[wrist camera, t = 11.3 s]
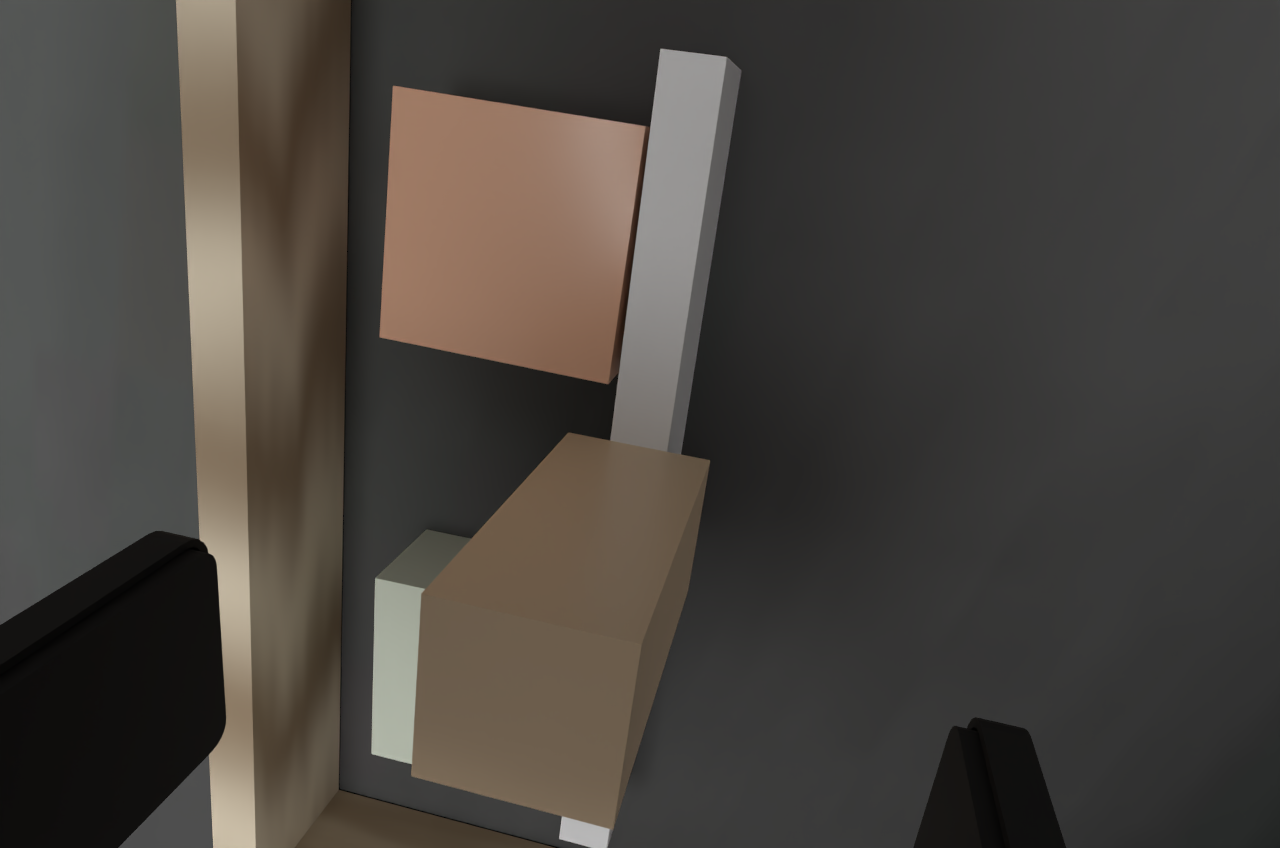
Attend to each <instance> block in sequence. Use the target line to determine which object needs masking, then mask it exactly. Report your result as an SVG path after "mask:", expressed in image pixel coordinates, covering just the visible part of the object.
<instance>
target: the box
mask: <svg viewBox="0 0 1280 848" xmlns="http://www.w3.org/2000/svg"><path fill="white" fill-rule="evenodd" d="M176 9H177V32H178V55H179V78H180V100H181V123H182V146H183V169H184V191H185V214H186V237H187V260H188V283H189V305H190V328H191V351H192V374H193V396H194V419H195V442H196V465H197V487H198V510H199V533H200V540H201V541H202V542H204V543H205V545H206V547H207V548H208V553H209V554H211V555H213V556H214V558H215V560H216V564H217V575H218V591H219V607H220V623H221V639H222V656H223V672H224V688H225V704H226V726H225V730H224V733H223V735H222V738H221V739H220V741H219V743H218V745H217V746H216V747H215V748H214V750H213V751H212V752H211V753H210V754H209V761H210V783H211V806H212V829H213V848H554V847H551V846H547V845H543V844H540V843H536V842H532V841H528V840H525V839H521V838H517V837H513V836H510V835H506V834H502V833H498V832H495V831H491V830H487V829H483V828H480V827H476V826H472V825H468V824H465V823H461V822H457V821H453V820H450V819H446V818H442V817H439V816H435V815H431V814H427V813H424V812H420V811H416V810H412V809H409V808H405V807H401V806H397V805H394V804H390V803H386V802H382V801H379V800H375V799H371V798H367V797H364V796H360V795H356V794H353V793H349V792H345V791H341V790H339V742H340V677H341V613H342V548H343V484H344V419H345V355H346V290H347V226H348V161H349V97H350V32H351V0H176Z"/></svg>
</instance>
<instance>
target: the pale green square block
mask: <svg viewBox="0 0 1280 848" xmlns="http://www.w3.org/2000/svg"><path fill="white" fill-rule="evenodd" d="M470 540H471V538H466V537H461V536H456V535H451V534H447V533H442V532H437V531H432V530H427V529H426V530H425V531H424V532H423V533H422V534H421V535H420V536H419V537H418V538H417V539H416V540H415V541H414V542H413V543H412V544H411V545H410V546H408V547H407V548H406V549H405V550H404V551H403V552H402V553H401V554H400V555H399V556H398V557H397V558H396V559H395V560H394V561H393V562H392V563H391V564H389V565H388V566H387V567H386V568H385V569H384V570H383V571H382V572H381V573H380V574H379V575H378V576H377V577H376V578H375V609H374V658H373V707H372V754H374V755H377V756H381V757H385V758H389V759H393V760H397V761H401V762H405V763H409V764H412V752H413V734H414V716H415V698H416V680H417V663H418V645H419V627H420V609H421V593H422V592H423V591H424V590H425V589H426V588H427V587H428V586H429V585H430V584H431V582H432V581H433V580H434V579H435V578H436V577H437V576H438V575H439V574H440V573H441V572H442V570H443V569H444V568H445V567H446V566H447V565H448V564H449V563H450V562H451V561H452V559H453V558H454V557H455V556H456V555H457V554H458V553H459V552H460V551H461V550H462V548H463V547H464V546H465V545H466V544H467V543H468V542H469V541H470Z"/></svg>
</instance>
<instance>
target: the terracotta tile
mask: <svg viewBox="0 0 1280 848" xmlns="http://www.w3.org/2000/svg"><path fill="white" fill-rule="evenodd" d="M649 134H650V126H644V125H638V124H632V123H625V122H619V121H613V120H607V119H601V118H594V117H588V116H582V115H576V114H569V113H563V112H557V111H551V110H544V109H538V108H532V107H526V106H520V105H513V104H507V103H501V102H495V101H488V100H482V99H476V98H470V97H464V96H457V95H451V94H445V93H438V92H431V91H425V90H418V89H411V88H405V87H398V86H393V96H392V114H391V133H390V152H389V170H388V189H387V208H386V226H385V245H384V264H383V282H382V301H381V320H380V338H385V339H390V340H395V341H400V342H405V343H410V344H415V345H419V346H424V347H429V348H434V349H439V350H444V351H449V352H453V353H458V354H463V355H468V356H473V357H478V358H483V359H488V360H492V361H497V362H502V363H507V364H512V365H517V366H522V367H527V368H531V369H536V370H541V371H546V372H551V373H556V374H561V375H565V376H570V377H575V378H580V379H585V380H590V381H595V382H600V383H604V384H609V383H610V382H611V381H612V380H613V378H614V377H615V376H616V375H617V374H618V373H619V368H620V360H621V353H622V345H623V337H624V329H625V321H626V314H627V306H628V298H629V290H630V282H631V275H632V267H633V259H634V251H635V244H636V236H637V228H638V220H639V212H640V205H641V197H642V189H643V181H644V173H645V166H646V158H647V150H648V142H649Z"/></svg>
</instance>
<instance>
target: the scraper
mask: <svg viewBox="0 0 1280 848" xmlns="http://www.w3.org/2000/svg"><path fill="white" fill-rule="evenodd" d="M741 71H742V70H740V69H739V68H738V67H737V66H736V65H735V64H734V63H733V62H732V61H731V60H730V59H729V58H728V57H723V56H715V55H707V54H699V53H691V52H684V51H676V50H668V49H660V56H659V64H658V72H657V80H656V88H655V95H654V103H653V111H652V119H651V127H650V134H649V142H648V150H647V158H646V166H645V173H644V181H643V189H642V197H641V205H640V212H639V220H638V228H637V236H636V244H635V251H634V259H633V267H632V275H631V282H630V290H629V298H628V306H627V314H626V321H625V329H624V337H623V345H622V353H621V360H620V368H619V376H618V384H617V392H616V399H615V407H614V415H613V423H612V431H611V438H610V440H604V439H599V438H594V437H589V436H584V435H579V434H574V433H569V432H568V433H567V434H566V436H565V437H564V438H563V439H562V440H561V441H560V442H559V443H558V444H557V445H556V446H555V448H554V449H553V450H552V451H551V452H550V453H549V454H548V455H547V456H546V457H545V459H544V460H543V461H542V462H541V463H540V464H539V465H538V466H537V467H536V468H535V470H534V471H533V472H532V473H531V474H530V475H529V476H528V477H527V478H526V479H525V480H524V482H523V483H522V484H521V485H520V486H519V487H518V488H517V489H516V490H515V491H514V493H513V494H512V495H511V496H510V497H509V498H508V499H507V500H506V501H505V502H504V504H503V505H502V506H501V507H500V508H499V509H498V510H497V511H496V512H495V513H494V514H493V516H492V517H491V518H490V519H489V520H488V521H487V522H486V523H485V524H484V525H483V527H482V528H481V529H480V530H479V531H478V532H477V533H476V534H475V535H474V536H473V538H472V539H471V540H470V541H469V542H468V543H467V544H466V545H465V546H464V547H463V548H462V550H461V551H460V552H459V553H458V554H457V555H456V556H455V557H454V558H453V559H452V561H451V562H450V563H449V564H448V565H447V566H446V567H445V568H444V569H443V570H442V572H441V573H440V574H439V575H438V576H437V577H436V578H435V579H434V580H433V581H432V582H431V584H430V585H429V586H428V587H427V588H426V589H425V590H424V591H423V592H422V593H421V609H420V627H419V645H418V663H417V680H416V698H415V716H414V734H413V752H412V770H411V776H412V777H416V778H420V779H424V780H427V781H431V782H435V783H439V784H443V785H446V786H450V787H454V788H458V789H461V790H465V791H469V792H473V793H476V794H480V795H484V796H488V797H491V798H495V799H499V800H503V801H506V802H510V803H514V804H518V805H521V806H525V807H529V808H533V809H537V810H540V811H544V812H548V813H552V814H555V815H559V816H562V820H561V828H560V836H559V839H562V840H565V841H569V842H573V843H576V844H580V845H584V846H587V847H591V848H608V845H609V841H610V838H611V835H612V832H613V829H614V826H615V822H616V819H617V816H618V813H619V810H620V806H621V803H622V800H623V797H624V794H625V790H626V787H627V784H628V781H629V778H630V774H631V771H632V768H633V765H634V762H635V759H636V755H637V752H638V749H639V746H640V743H641V739H642V736H643V733H644V730H645V727H646V723H647V720H648V717H649V714H650V711H651V707H652V704H653V701H654V698H655V695H656V692H657V688H658V685H659V682H660V679H661V676H662V672H663V669H664V666H665V663H666V660H667V656H668V653H669V650H670V647H671V644H672V640H673V637H674V634H675V631H676V628H677V625H678V621H679V618H680V615H681V612H682V609H683V605H684V602H685V599H686V596H687V593H688V589H689V583H690V577H691V571H692V566H693V560H694V554H695V548H696V542H697V536H698V530H699V524H700V518H701V513H702V507H703V501H704V495H705V489H706V483H707V477H708V471H709V465H710V460H706V459H701V458H696V457H691V456H686V455H681V452H682V445H683V439H684V433H685V426H686V420H687V414H688V407H689V401H690V395H691V388H692V382H693V376H694V369H695V363H696V357H697V350H698V344H699V338H700V331H701V325H702V318H703V312H704V306H705V299H706V293H707V287H708V280H709V274H710V268H711V261H712V255H713V249H714V242H715V236H716V230H717V223H718V217H719V211H720V204H721V198H722V192H723V185H724V179H725V173H726V166H727V160H728V154H729V147H730V141H731V135H732V128H733V122H734V116H735V109H736V103H737V97H738V90H739V84H740V78H741Z"/></svg>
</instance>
